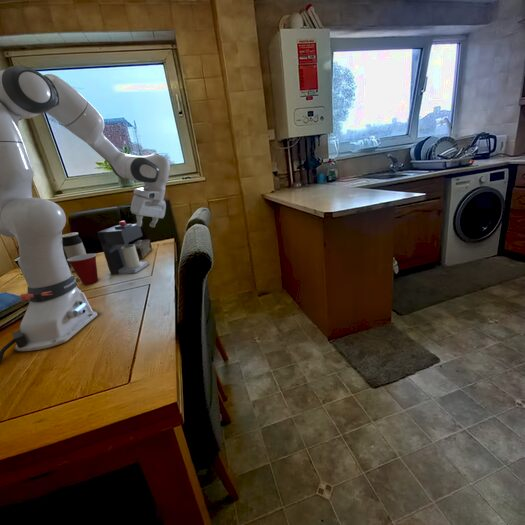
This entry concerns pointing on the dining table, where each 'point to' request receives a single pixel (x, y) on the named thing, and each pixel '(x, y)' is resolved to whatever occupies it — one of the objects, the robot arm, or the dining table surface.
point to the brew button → (122, 223)
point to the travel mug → (73, 245)
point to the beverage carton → (142, 247)
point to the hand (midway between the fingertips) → (145, 226)
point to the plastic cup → (85, 267)
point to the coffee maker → (119, 246)
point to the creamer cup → (130, 256)
